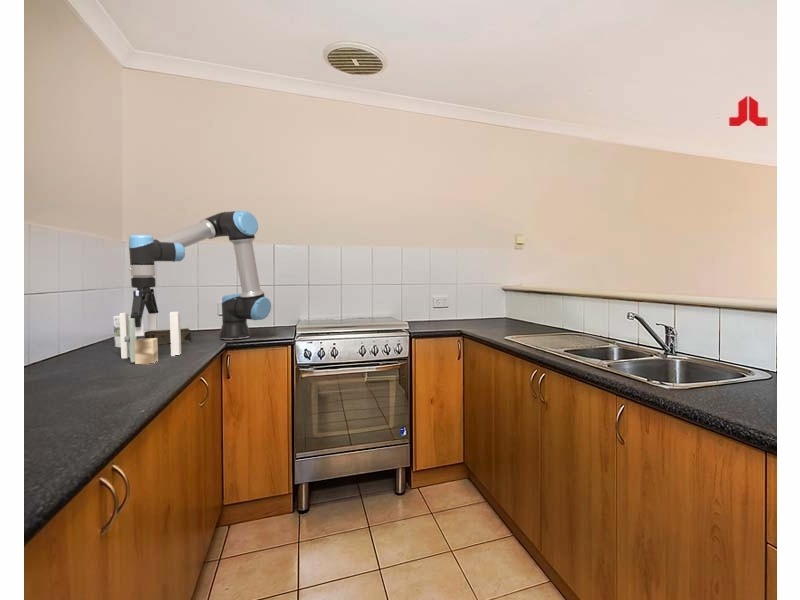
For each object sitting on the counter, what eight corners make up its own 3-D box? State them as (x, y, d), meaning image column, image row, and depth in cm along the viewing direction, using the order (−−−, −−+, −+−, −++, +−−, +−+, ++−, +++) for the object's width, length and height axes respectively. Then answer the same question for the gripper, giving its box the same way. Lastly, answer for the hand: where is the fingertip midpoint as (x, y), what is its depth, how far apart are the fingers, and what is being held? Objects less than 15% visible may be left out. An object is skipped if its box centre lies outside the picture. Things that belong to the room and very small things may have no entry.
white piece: (181, 354, 159) (179, 311, 157) (179, 355, 156) (177, 312, 155) (124, 356, 153) (122, 312, 152) (121, 358, 150) (119, 313, 149)
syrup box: (136, 345, 176) (134, 314, 175) (125, 348, 170) (124, 316, 169) (124, 345, 176) (123, 314, 175) (114, 348, 170) (112, 316, 169)
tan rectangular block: (158, 360, 147) (157, 338, 146) (153, 363, 142) (152, 340, 141) (140, 361, 145) (139, 338, 144) (135, 364, 140) (134, 340, 140)
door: (137, 361, 143) (135, 319, 142) (125, 363, 140) (124, 320, 139) (135, 355, 153) (133, 316, 152) (124, 356, 151) (122, 316, 150)
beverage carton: (192, 342, 187) (191, 329, 186) (145, 346, 175) (144, 332, 175) (189, 340, 193) (189, 327, 192) (144, 344, 182) (144, 330, 181)
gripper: (143, 276, 152) (146, 328, 154) (117, 277, 128) (121, 339, 130) (164, 276, 154) (167, 327, 156) (142, 277, 130) (146, 338, 132)
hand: (146, 332), depth 143 cm, fingers open, 13 cm apart
